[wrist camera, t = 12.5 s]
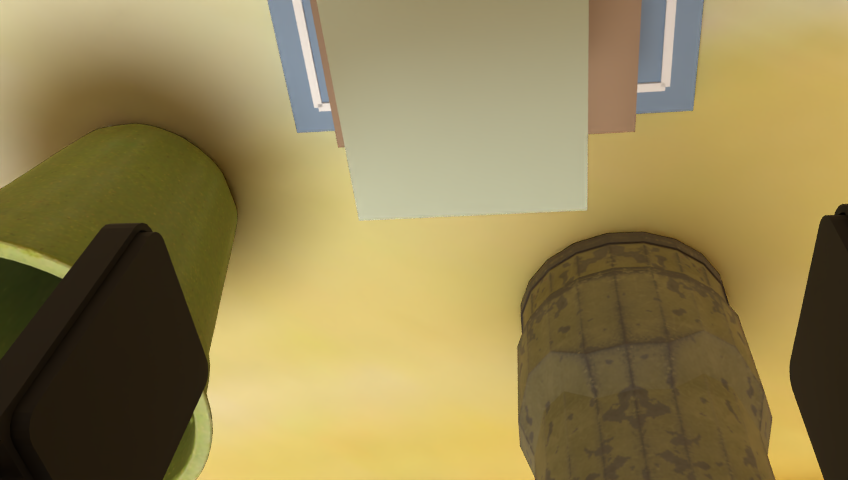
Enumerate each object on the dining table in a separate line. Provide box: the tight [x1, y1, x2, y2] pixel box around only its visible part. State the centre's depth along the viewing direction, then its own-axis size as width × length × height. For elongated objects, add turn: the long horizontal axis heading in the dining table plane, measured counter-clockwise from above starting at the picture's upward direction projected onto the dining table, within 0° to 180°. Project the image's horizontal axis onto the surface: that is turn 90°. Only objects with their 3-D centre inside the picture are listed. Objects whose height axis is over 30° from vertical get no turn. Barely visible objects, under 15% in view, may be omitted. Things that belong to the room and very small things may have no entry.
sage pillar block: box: [316, 0, 589, 221], centre depth 19 cm, size 5×5×7 cm
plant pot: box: [0, 124, 237, 480], centre depth 28 cm, size 12×12×11 cm
